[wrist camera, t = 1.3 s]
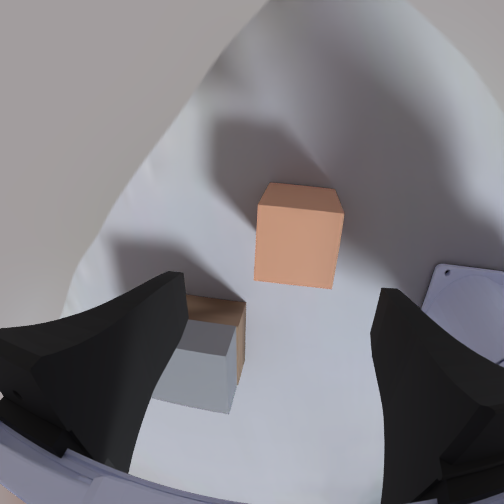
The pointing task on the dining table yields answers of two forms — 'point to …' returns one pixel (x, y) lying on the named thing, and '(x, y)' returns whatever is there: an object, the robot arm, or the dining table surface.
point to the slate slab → (201, 368)
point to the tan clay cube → (298, 235)
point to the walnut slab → (221, 319)
